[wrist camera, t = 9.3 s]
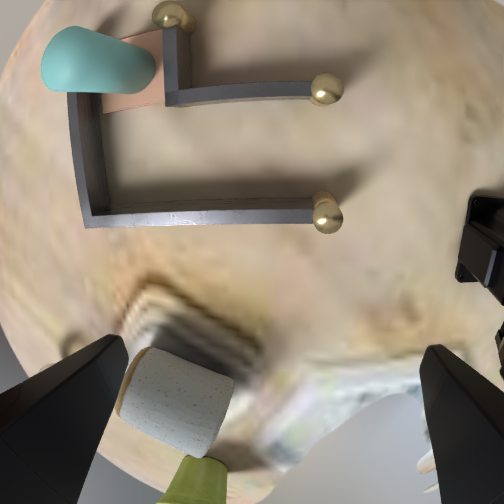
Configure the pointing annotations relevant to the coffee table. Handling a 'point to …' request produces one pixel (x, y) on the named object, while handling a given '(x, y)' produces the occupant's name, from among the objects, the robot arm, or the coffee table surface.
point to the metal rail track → (183, 95)
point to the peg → (95, 63)
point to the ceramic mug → (174, 400)
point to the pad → (156, 87)
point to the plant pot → (197, 483)
